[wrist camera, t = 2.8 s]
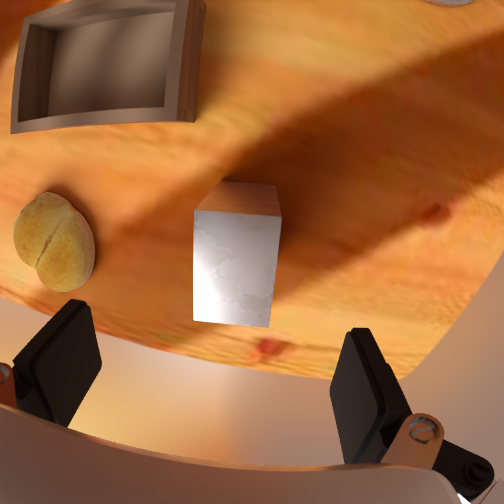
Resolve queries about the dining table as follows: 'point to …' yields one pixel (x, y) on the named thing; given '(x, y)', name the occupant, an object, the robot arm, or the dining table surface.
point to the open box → (107, 64)
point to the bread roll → (55, 242)
